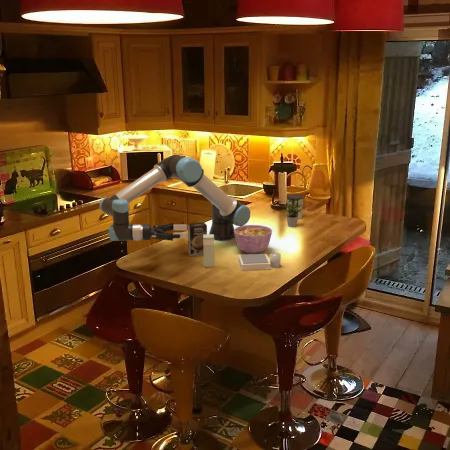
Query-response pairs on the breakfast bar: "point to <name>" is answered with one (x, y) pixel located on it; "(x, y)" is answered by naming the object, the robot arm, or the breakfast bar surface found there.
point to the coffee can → (300, 200)
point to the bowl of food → (253, 238)
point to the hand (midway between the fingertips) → (187, 231)
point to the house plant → (292, 214)
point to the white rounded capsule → (275, 260)
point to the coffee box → (196, 238)
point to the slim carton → (208, 250)
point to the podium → (254, 262)
